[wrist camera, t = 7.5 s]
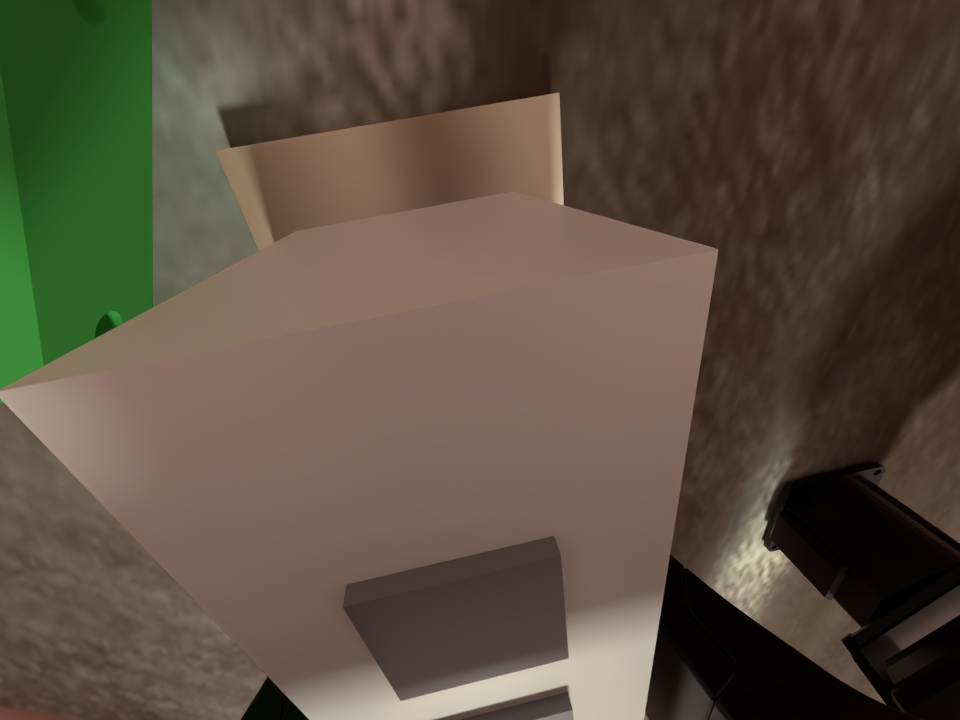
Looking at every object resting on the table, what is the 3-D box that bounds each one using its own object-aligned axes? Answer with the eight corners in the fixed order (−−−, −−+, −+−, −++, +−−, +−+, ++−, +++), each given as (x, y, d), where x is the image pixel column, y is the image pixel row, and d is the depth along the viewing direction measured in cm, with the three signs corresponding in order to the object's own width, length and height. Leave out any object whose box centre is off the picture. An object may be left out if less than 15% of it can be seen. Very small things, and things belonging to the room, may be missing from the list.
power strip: (513, 191, 8) (741, 255, 2) (552, 579, 14) (632, 829, 9) (295, 230, 7) (-45, 412, 2) (439, 606, 14) (451, 880, 9)
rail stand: (548, 98, 12) (604, 69, 8) (568, 488, 20) (599, 555, 17) (231, 151, 11) (146, 146, 8) (390, 529, 20) (384, 607, 16)
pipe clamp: (-39, -136, 8) (-469, -423, 4) (157, -43, 9) (-38, -203, 5) (26, 313, 13) (-157, 382, 9) (155, 342, 14) (46, 414, 10)
